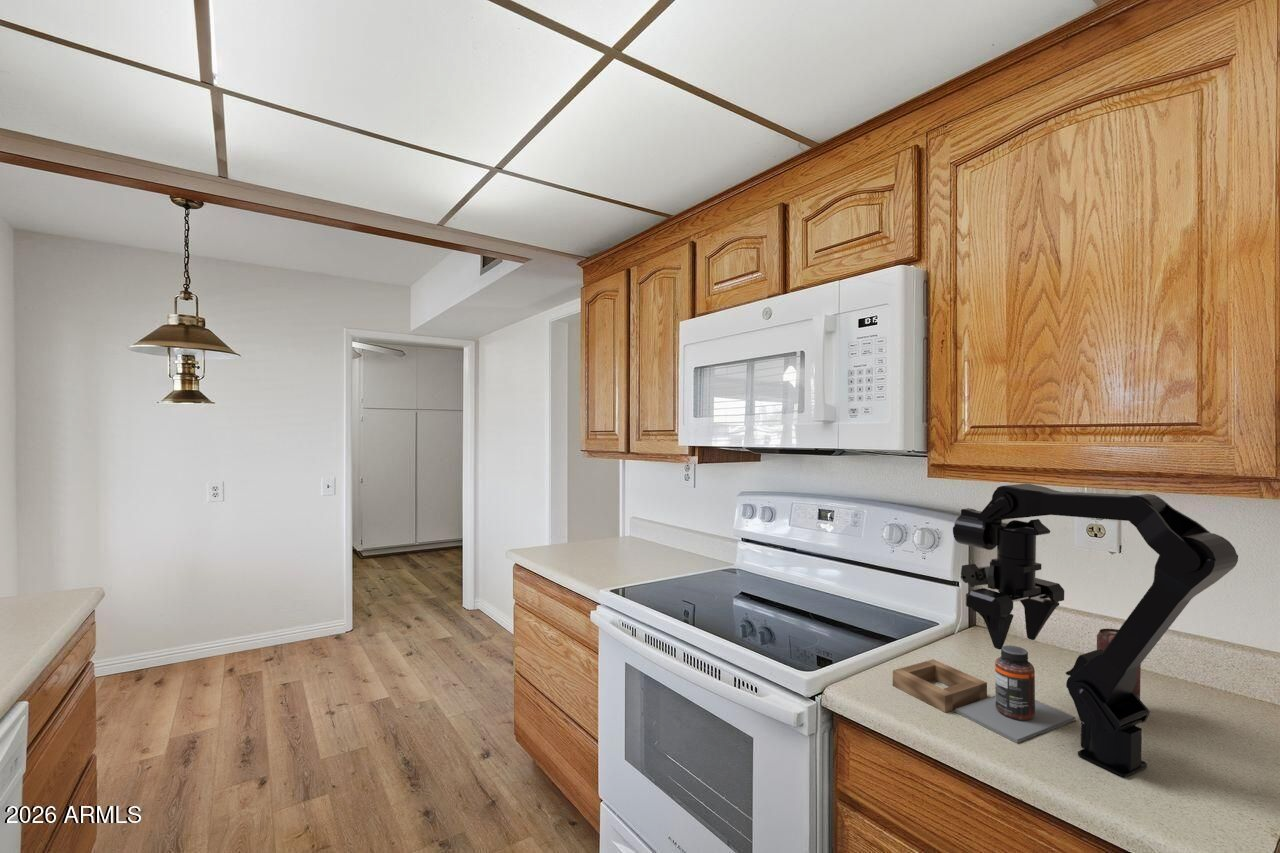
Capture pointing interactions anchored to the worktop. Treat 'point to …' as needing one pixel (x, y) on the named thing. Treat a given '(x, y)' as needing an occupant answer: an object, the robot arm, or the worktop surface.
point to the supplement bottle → (1015, 684)
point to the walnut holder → (947, 699)
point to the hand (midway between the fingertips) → (1014, 643)
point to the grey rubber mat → (1010, 727)
